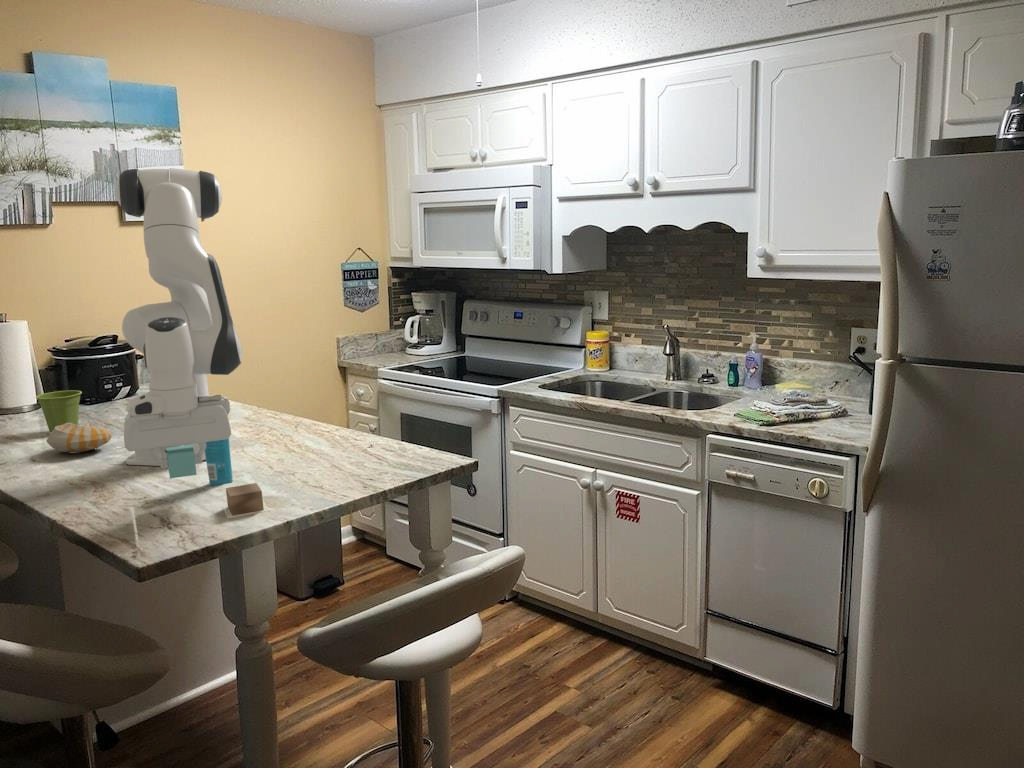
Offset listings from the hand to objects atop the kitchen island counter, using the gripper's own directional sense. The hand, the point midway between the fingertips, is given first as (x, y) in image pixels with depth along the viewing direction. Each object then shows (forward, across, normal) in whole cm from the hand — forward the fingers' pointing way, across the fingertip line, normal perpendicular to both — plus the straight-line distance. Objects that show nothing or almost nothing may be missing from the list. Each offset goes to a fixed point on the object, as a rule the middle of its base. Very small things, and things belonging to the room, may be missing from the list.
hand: (181, 465), depth 171 cm
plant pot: (+12, +27, -92) cm, 96 cm away
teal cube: (+2, 0, 0) cm, 2 cm away
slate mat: (+8, -11, +11) cm, 17 cm away
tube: (+9, -8, -12) cm, 17 cm away
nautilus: (+12, +22, -66) cm, 70 cm away
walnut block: (+8, -11, +11) cm, 17 cm away
